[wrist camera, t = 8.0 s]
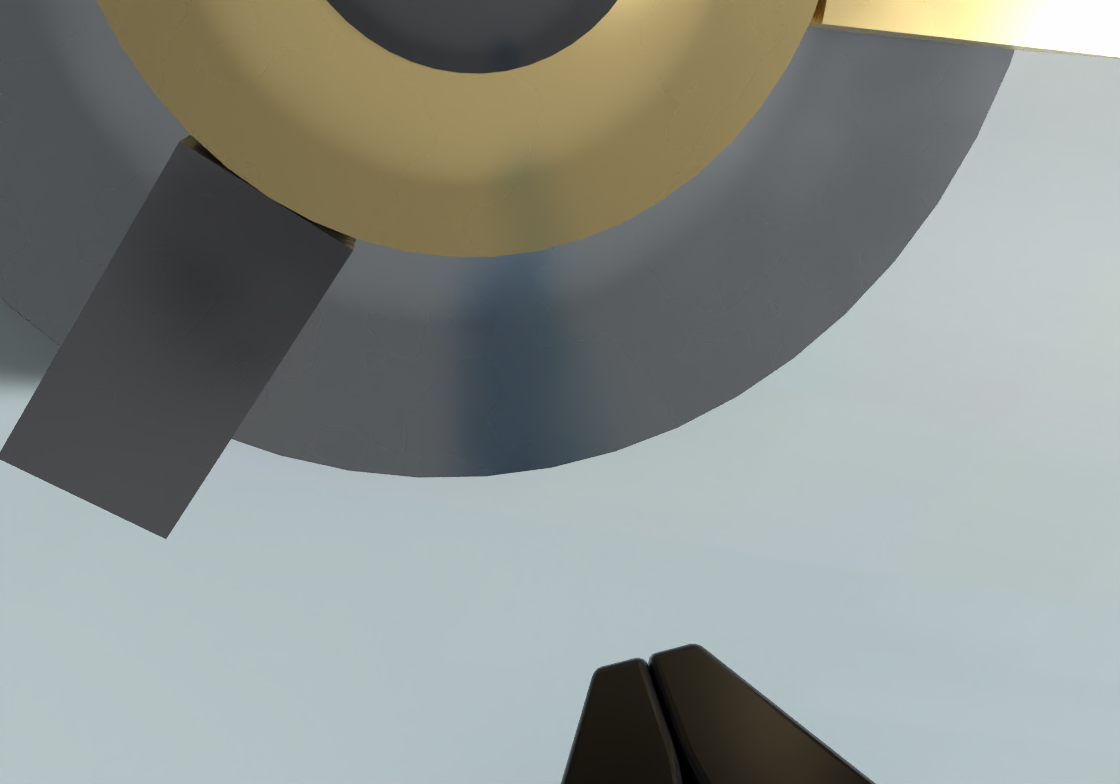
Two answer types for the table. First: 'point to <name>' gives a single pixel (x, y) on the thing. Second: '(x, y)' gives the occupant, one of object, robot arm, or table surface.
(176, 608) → the table surface
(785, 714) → the robot arm
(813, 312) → the flange plate
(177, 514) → the ring nut
